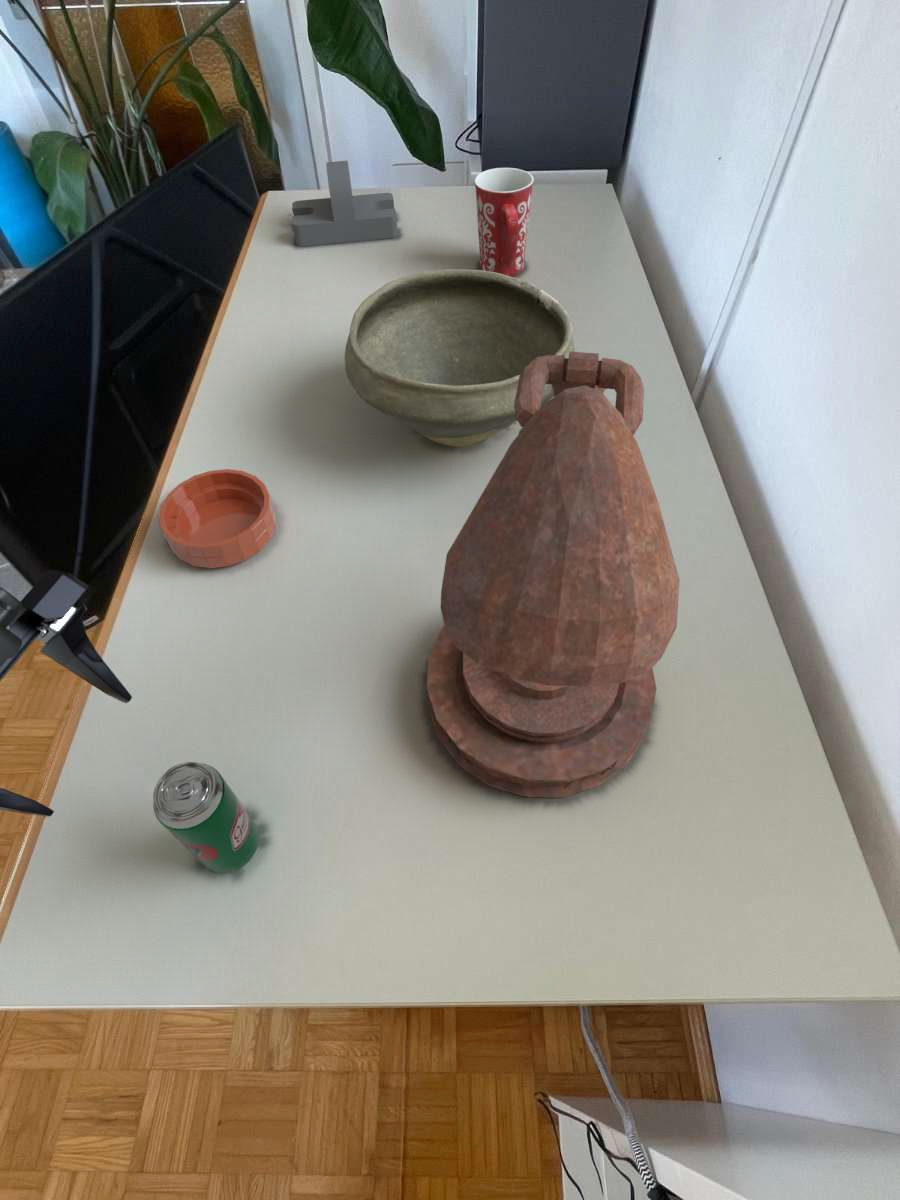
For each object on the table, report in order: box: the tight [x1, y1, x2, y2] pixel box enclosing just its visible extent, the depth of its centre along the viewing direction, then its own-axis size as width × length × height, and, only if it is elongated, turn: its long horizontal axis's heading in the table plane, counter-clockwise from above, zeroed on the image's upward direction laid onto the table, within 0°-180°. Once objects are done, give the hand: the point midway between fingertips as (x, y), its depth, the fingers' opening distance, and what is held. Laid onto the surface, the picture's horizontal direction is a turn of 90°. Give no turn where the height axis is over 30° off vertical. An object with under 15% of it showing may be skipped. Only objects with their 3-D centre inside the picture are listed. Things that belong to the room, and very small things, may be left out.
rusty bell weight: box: [426, 351, 680, 798], centre depth 50 cm, size 21×32×40 cm, turn 170°
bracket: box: [291, 160, 399, 247], centre depth 121 cm, size 10×18×11 cm, turn 98°
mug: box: [473, 167, 535, 277], centre depth 109 cm, size 13×9×14 cm
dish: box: [157, 468, 277, 569], centre depth 79 cm, size 12×12×4 cm
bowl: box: [344, 268, 576, 448], centre depth 87 cm, size 28×28×14 cm
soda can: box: [152, 761, 260, 874], centre depth 54 cm, size 5×5×12 cm
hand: (92, 754), depth 50 cm, fingers open, 9 cm apart
